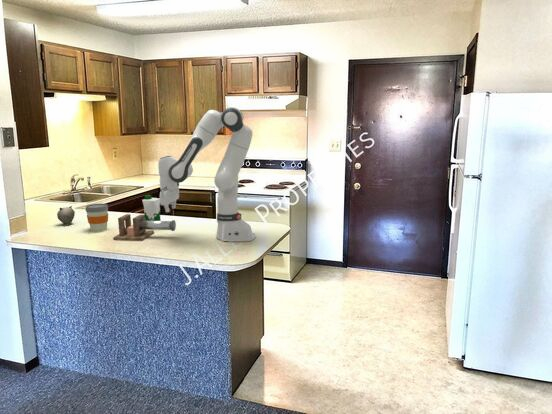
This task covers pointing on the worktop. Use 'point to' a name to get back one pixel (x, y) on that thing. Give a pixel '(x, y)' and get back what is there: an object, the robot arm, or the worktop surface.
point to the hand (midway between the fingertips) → (170, 210)
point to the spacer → (130, 231)
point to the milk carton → (151, 208)
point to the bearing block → (138, 233)
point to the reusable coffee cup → (97, 216)
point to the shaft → (157, 225)
